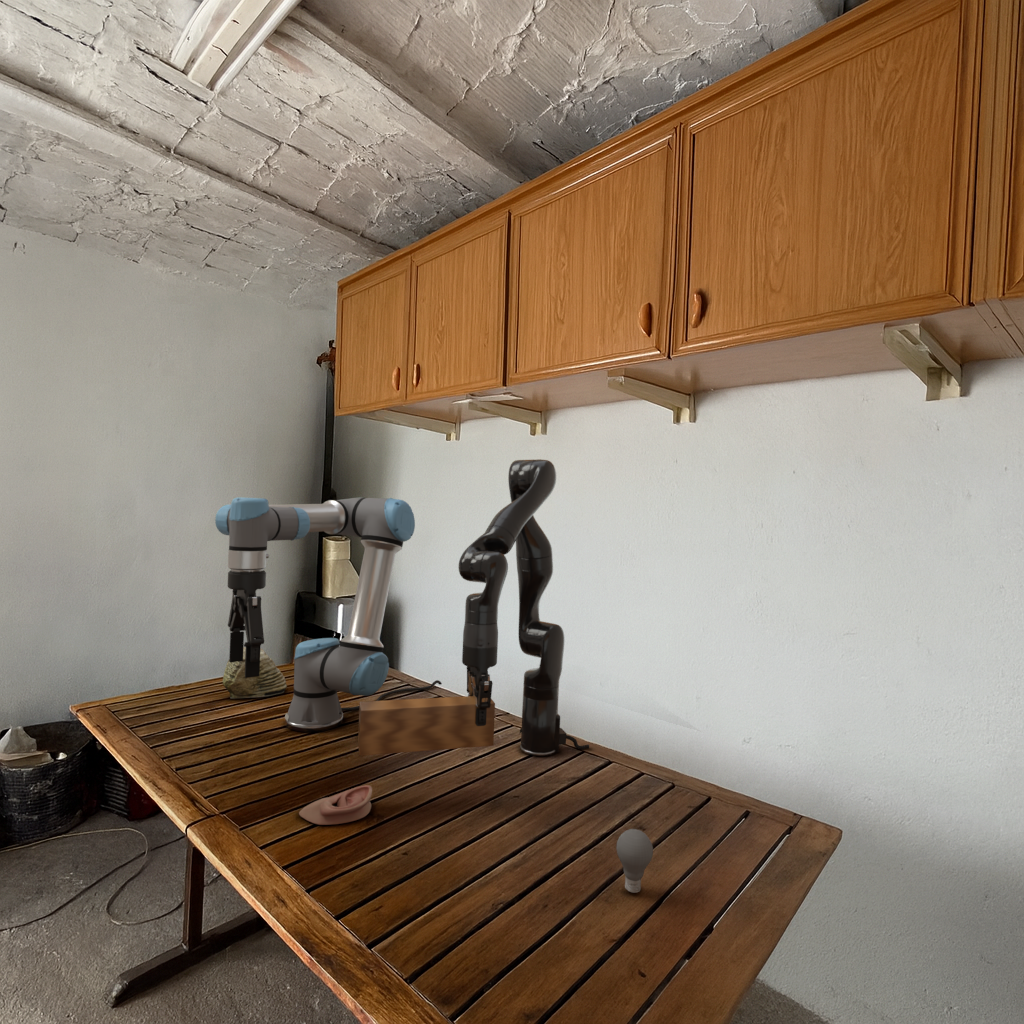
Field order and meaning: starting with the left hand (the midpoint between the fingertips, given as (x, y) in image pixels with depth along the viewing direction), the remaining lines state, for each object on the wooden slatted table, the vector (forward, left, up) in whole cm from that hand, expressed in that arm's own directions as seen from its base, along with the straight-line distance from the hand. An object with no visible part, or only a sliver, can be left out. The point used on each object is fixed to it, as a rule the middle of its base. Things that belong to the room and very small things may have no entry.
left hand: (243, 668), depth 136 cm
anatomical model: (-8, +23, -26) cm, 36 cm away
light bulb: (-26, +80, -26) cm, 88 cm away
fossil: (-35, -56, -26) cm, 71 cm away
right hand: (-32, +39, -9) cm, 51 cm away
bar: (-23, +33, -14) cm, 42 cm away
